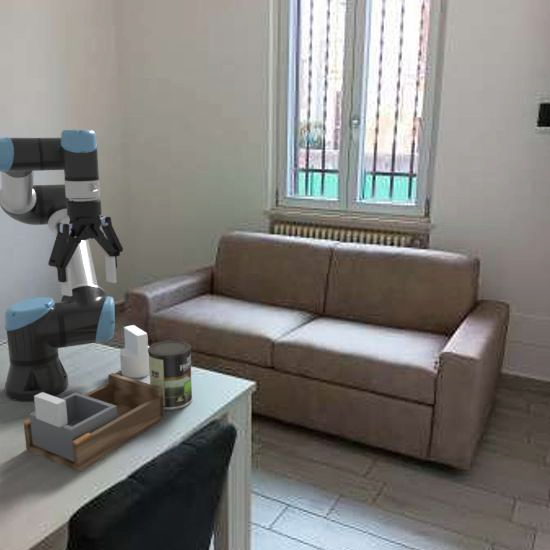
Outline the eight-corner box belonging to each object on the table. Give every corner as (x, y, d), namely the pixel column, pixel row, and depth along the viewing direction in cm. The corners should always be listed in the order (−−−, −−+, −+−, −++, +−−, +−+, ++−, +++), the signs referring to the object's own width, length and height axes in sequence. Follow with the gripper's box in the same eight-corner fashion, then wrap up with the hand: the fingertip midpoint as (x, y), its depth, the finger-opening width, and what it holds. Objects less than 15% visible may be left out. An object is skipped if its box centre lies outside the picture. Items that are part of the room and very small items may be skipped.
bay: (26, 449, 124) (22, 414, 122) (114, 403, 145) (112, 373, 143) (78, 472, 116) (75, 435, 114) (164, 419, 137) (162, 388, 135)
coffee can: (198, 393, 150) (196, 341, 147) (184, 412, 140) (182, 357, 137) (160, 389, 152) (157, 338, 149) (143, 408, 142) (140, 353, 139)
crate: (30, 445, 123) (25, 392, 120) (78, 420, 133) (74, 371, 130) (72, 463, 116) (67, 407, 113) (118, 435, 127) (115, 384, 124)
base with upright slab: (115, 369, 165) (113, 329, 162) (145, 362, 170) (143, 322, 167) (129, 380, 158) (126, 338, 155) (159, 372, 163) (157, 331, 160)
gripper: (48, 206, 122) (57, 303, 127) (134, 194, 143) (139, 279, 148) (25, 203, 126) (35, 298, 131) (112, 192, 147) (117, 275, 152)
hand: (90, 288), depth 140 cm, fingers open, 13 cm apart
